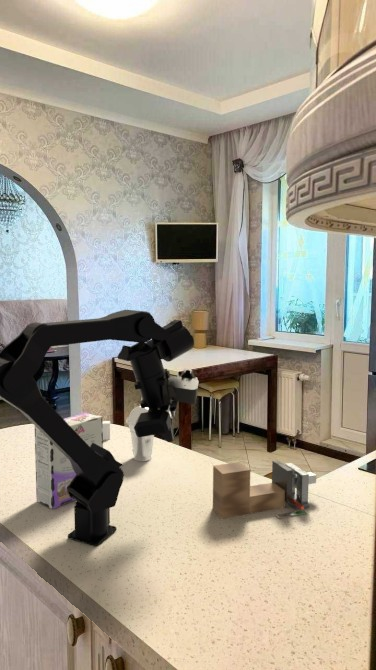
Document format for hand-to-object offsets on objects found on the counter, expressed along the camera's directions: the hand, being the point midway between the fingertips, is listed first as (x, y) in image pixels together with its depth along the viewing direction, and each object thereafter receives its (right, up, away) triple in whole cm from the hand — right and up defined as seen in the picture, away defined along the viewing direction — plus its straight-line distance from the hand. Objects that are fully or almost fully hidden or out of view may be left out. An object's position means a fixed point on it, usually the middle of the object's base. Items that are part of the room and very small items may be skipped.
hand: (170, 440), depth 101 cm
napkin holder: (-25, -9, +44) cm, 51 cm away
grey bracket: (+27, -13, +3) cm, 30 cm away
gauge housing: (+23, -14, +3) cm, 27 cm away
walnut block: (+16, -14, +1) cm, 21 cm away
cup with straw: (-8, -11, +29) cm, 32 cm away
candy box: (-22, -13, +7) cm, 26 cm away
